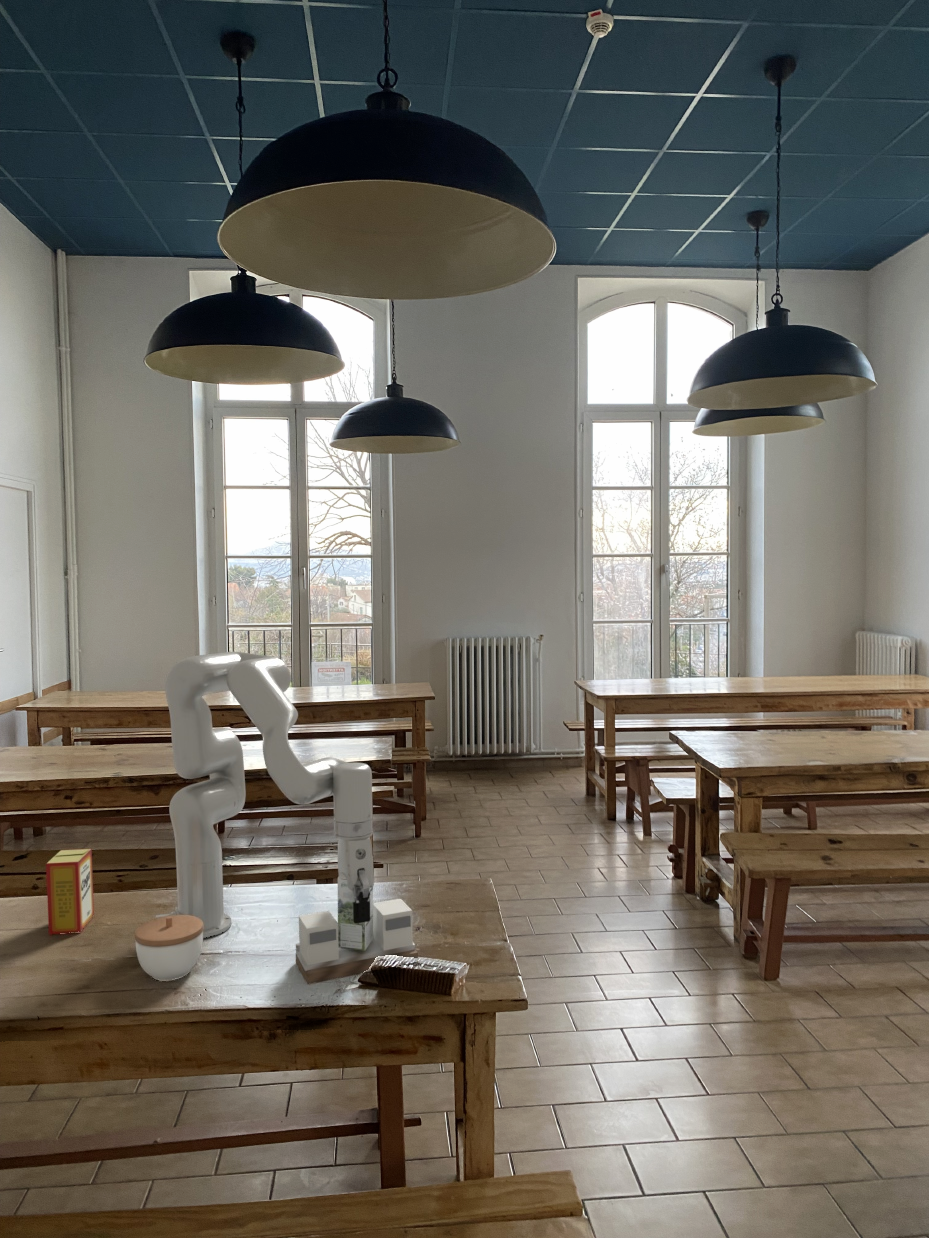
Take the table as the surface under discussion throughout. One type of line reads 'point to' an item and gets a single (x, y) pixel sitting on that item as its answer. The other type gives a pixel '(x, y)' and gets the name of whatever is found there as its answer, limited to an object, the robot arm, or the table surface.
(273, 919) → the table surface
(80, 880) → the baking soda box
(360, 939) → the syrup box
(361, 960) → the rail board
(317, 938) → the mounted modules
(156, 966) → the lidded bowl
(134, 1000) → the table surface
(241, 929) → the table surface
